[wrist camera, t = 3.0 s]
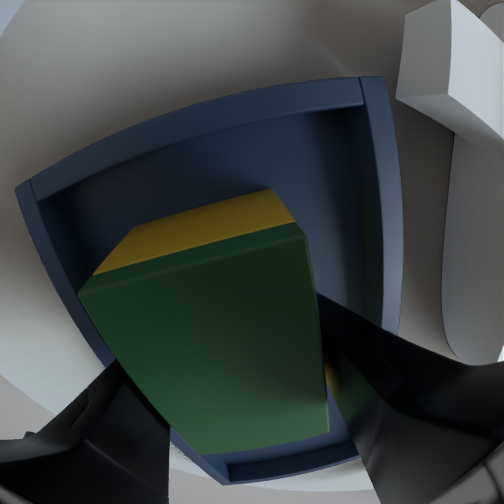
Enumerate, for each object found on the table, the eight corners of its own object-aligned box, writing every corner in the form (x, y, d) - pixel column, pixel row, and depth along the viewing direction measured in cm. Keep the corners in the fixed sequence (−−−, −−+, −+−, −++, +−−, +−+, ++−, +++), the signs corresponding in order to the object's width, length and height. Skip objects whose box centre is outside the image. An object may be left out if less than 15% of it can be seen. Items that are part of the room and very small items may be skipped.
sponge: (203, 375, 11) (198, 455, 7) (132, 226, 8) (75, 293, 5) (305, 353, 11) (330, 433, 7) (272, 187, 8) (307, 233, 4)
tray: (221, 465, 16) (222, 485, 15) (45, 177, 8) (13, 188, 6) (363, 434, 16) (371, 454, 14) (355, 84, 7) (384, 75, 5)
